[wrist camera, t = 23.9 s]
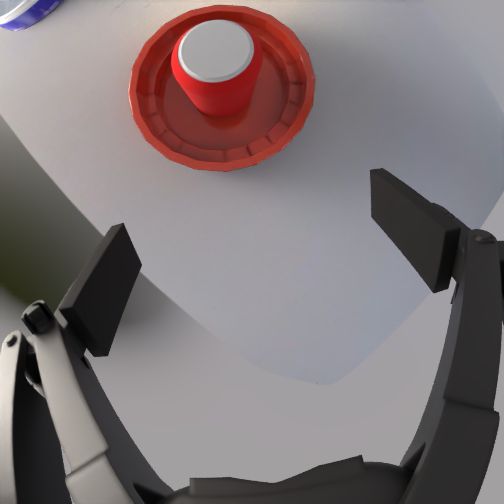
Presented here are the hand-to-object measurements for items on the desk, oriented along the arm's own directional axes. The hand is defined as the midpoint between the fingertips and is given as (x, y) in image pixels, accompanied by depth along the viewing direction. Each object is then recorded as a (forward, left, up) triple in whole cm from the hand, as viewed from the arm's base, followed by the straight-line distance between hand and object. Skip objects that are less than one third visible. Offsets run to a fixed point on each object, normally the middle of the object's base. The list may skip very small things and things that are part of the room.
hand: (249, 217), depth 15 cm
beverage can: (+6, -9, -16) cm, 19 cm away
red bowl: (+6, -9, -16) cm, 19 cm away
